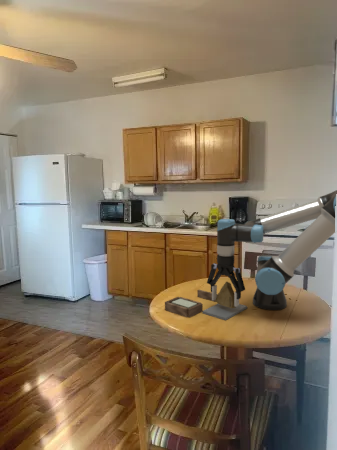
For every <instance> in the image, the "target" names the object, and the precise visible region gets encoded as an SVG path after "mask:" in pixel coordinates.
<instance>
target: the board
mask: <svg viewBox="0 0 337 450" xmlns="http://www.w3.org/2000/svg"><path fill="white" fill-rule="evenodd" d="M247 309H248V306H247V305H244V304H240V303H239V305H238V306H236V308H229V307H226V306H223V305H220V304H218V303H216V304H214V305H212V306H209V307H207V308H206V309H204V310H203V311H202V312H201V313H202V314H203V315H206V316H210V317H213V318H216V319H219V320H223V321H227V320H229V319H231V318H232V317H234V316H236V315H237V314H239V313H241V312H243V311H245V310H247Z"/></svg>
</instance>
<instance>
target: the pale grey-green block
mask: <svg viewBox="0 0 337 450" xmlns="http://www.w3.org/2000/svg"><path fill="white" fill-rule="evenodd" d="M172 304H175V305H178V306H182V307H185V308H188V309H189V308H191V307H193V306H195V305H197V303H193V302H190V301H187V300H183V299H178V300H175V301H173V302H172Z"/></svg>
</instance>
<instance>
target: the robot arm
mask: <svg viewBox="0 0 337 450" xmlns="http://www.w3.org/2000/svg"><path fill="white" fill-rule="evenodd" d="M336 194H337V190H334V191H332V192H329V193H326V194H324V195H322V196H318V198H317V199H316V200H313V201H310V202H308V203H303V204H301V205H297V206H294V207H291V208H288V209H285V210H284V209H283V210H281V211H278V212H276V213H275V212H274V213H272V214H269V215H265V216H262V217H260V218H256V219H250V220H247V221H246V222H245V223H244V224H241V223H240V224H239V223H236V220H235V219H233V218H231V219H230V218H221V219H219V220H217V229H216V234H217V236H216V237H217V238H216V239H217V240H216V242H217V243H216V254H217V255H216V263H211V265H210V272H209V275H208V277H207V281H206V284H208V285H210V292H211V293H212V300H213V301H212V302H214V300H216V297H217V294H218V292H217V291H218V290H217V289H218V286H217V282H218V281H219V279H220V278H221V276H226V277H228V278H229V279H230V281H231V282H230V283H231V285H232V287H233V288H234V290H235V291H234V306H235V307H236V306H238V305H239V304H240V299H241V298H242V292H244V291H246V287H245V286H246V285H245V284H244V280H243V276H242V269H241V267H235V242H239V243H242V242H243V243H253V244H254V243H255V244H256V243H262V242H264V235H265V234H268V233H272V232H275V231H280V230H282V229H286V228H289V227H292V226H295V225H299V224H302V223H306V222H310V221H312V222H311V224H310V225H308V226H307V227H306V228H305V230H303V231H302V232H301V233H300V234H299V235H298V236H297V237H295V239H294V240H292V241H291V243H289V244H288V246H286V248H285V249H283V251H281V253H279V255H259V256H258V257H257V261H256V262H257V263H256V264H257V267H256V268H257V269H256V274H255V277H254V280H255V285H256V289H255V292H254V295H253V297H252V304H253V306H255V307H257V308H259V309H262V310H269V311H278V310H283V309H285V308H287V305H288V303H287V297H286V295H285V292H284V288H285V286H286V284H287V283H288V282H289V281H291V279H293V277H294V276H295V275H294V274H295V273H294V272H295V270H297V268H299V266H301V265H302V264H303V263H304V262H305V261H306V260H308V258H309V257H310V256H312V255H313V253H314V252H316V251H317V250H318V249H319V248H320V247H321V246H322V245H323V244H325V243H326V241H328V240H329V238H330V237H332V236H333V235H334V234H335V233H336V232H335V206H336ZM313 220H314V221H313Z"/></svg>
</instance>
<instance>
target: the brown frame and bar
mask: <svg viewBox="0 0 337 450" xmlns="http://www.w3.org/2000/svg"><path fill="white" fill-rule="evenodd" d="M196 295H197V298H200V299H204V300H209V301H211V302H215V300H214V301H213V300H212V292H211V291H206V290H203V289H197V294H196ZM217 295H218V293H217ZM178 299H183V300H187V301H190V302H193V303H197V305H195V306H193V307H191V308H189V309H188V308H185V307H182V306H178V305H175V304H172V302H173V301H175V300H178ZM215 303H216V302H215ZM203 306H204V305H203V303H202V302H199V301H196V300H193V299H190V298H185V297H183V296H176V297H174V298H171V299H168V300H166V301H164V310H165V311H167V312H170V313H173V314H176V315H179V316H182V317H185V318H192V317H194V316H196V315H198V314H200V313H202V311H204V310H203Z"/></svg>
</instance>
